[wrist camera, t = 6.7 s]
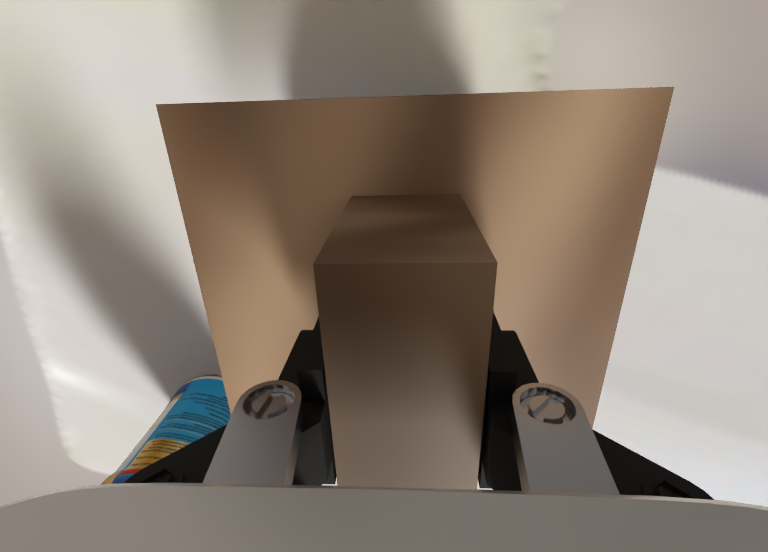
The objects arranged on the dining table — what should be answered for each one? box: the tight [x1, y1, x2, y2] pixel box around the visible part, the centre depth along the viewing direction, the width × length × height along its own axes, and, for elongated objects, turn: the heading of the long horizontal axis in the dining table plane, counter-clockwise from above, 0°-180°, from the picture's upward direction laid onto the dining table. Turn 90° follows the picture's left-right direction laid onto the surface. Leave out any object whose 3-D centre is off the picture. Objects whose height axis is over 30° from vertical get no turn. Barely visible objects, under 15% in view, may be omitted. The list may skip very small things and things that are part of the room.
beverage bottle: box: [101, 376, 231, 485], centre depth 27 cm, size 8×8×20 cm
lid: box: [156, 87, 674, 490], centre depth 11 cm, size 13×13×6 cm
